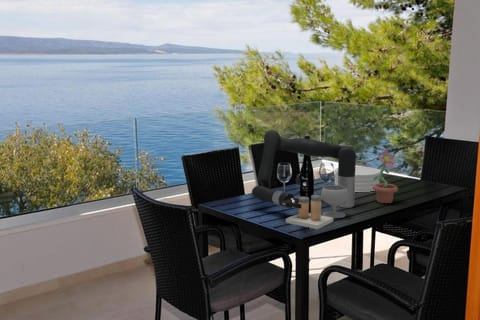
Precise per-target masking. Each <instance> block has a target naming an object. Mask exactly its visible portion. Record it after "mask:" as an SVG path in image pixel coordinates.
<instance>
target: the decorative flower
mask: <svg viewBox="0 0 480 320" xmlns="http://www.w3.org/2000/svg"><path fill="white" fill-rule="evenodd" d="M378 160H379V161H380V163H381V165H382V166H381V169H380V170H379V171H380V172H379V176H376V177H374V179H373V180H376V179H377V178H378V180H379V181H380V182H379V183H378V184H375V185H374V186H373V189H374V190H376V201H377V203H379V204H383V203H386V205H388V204H387V203H389V204H392V203H393V200H394V195H395V194H394V193H396V192H398V191H399V187H398V186H397V185H396V184H392V183H388V181H387V180H386V179H385V177H383V173H384V172H385V173H386V174H390V172H389V170H388V169H393V168H395V165H396V164H397V160H396V159H395V158H394V155H393V153H391V152H389V151H388V150H386V149H384V150H381V151H380V155H379V156H378ZM387 168H388V169H387Z"/></svg>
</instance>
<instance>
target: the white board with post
mask: <svg viewBox="0 0 480 320" xmlns="http://www.w3.org/2000/svg"><path fill="white" fill-rule="evenodd" d="M310 201H311V205H310V212H309V216H308V219H306V220H305V219H300V218H298V216H299V213H297V214H294V215H292V216H289V217H287V218H285V223H286V224H290V225H294V226H300V227H304V228H308V227H309V229H314V230H319V229H322V228H323V227H325V226H327V225H329V224H331V223H333V222H334V218H332V217H327V216H323V215H322V198H321V194H311V196H310Z"/></svg>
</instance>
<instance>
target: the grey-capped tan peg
mask: <svg viewBox="0 0 480 320" xmlns="http://www.w3.org/2000/svg"><path fill="white" fill-rule="evenodd" d="M298 198H299V204H301V208H300V209H299V208H298V214H299V216H298V218H300V219H305V220H306V219H308V216H309V213H310V212H309V210H310V209H309V207H310V205H309V200H310V198H309V197H308V196H299V197H298Z"/></svg>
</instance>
